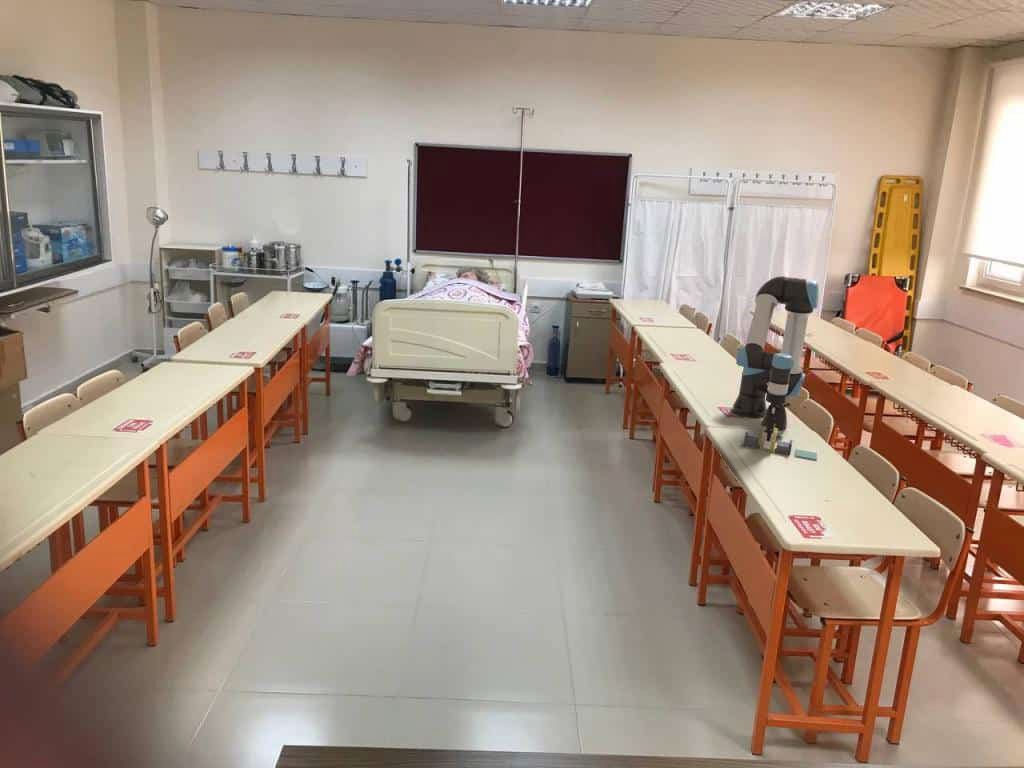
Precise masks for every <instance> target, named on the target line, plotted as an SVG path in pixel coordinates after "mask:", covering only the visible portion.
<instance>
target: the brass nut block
mask: <svg viewBox="0 0 1024 768" xmlns="http://www.w3.org/2000/svg"><path fill="white" fill-rule="evenodd" d="M765 430H767V427H766V426H764V428H763V429H762V432H761V437H760V443H759V448H758V449H759V450H760V451H764V452H769V453H774V451H775V449H776V448H775V447H776V442H777V437H778V436H777V431H778V429H777V428H774V429H773V437H772V443H771V448H770V449H767V448H763V447H764V441H765V435H766V432H764V431H765ZM768 430H771V429H768Z"/></svg>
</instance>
